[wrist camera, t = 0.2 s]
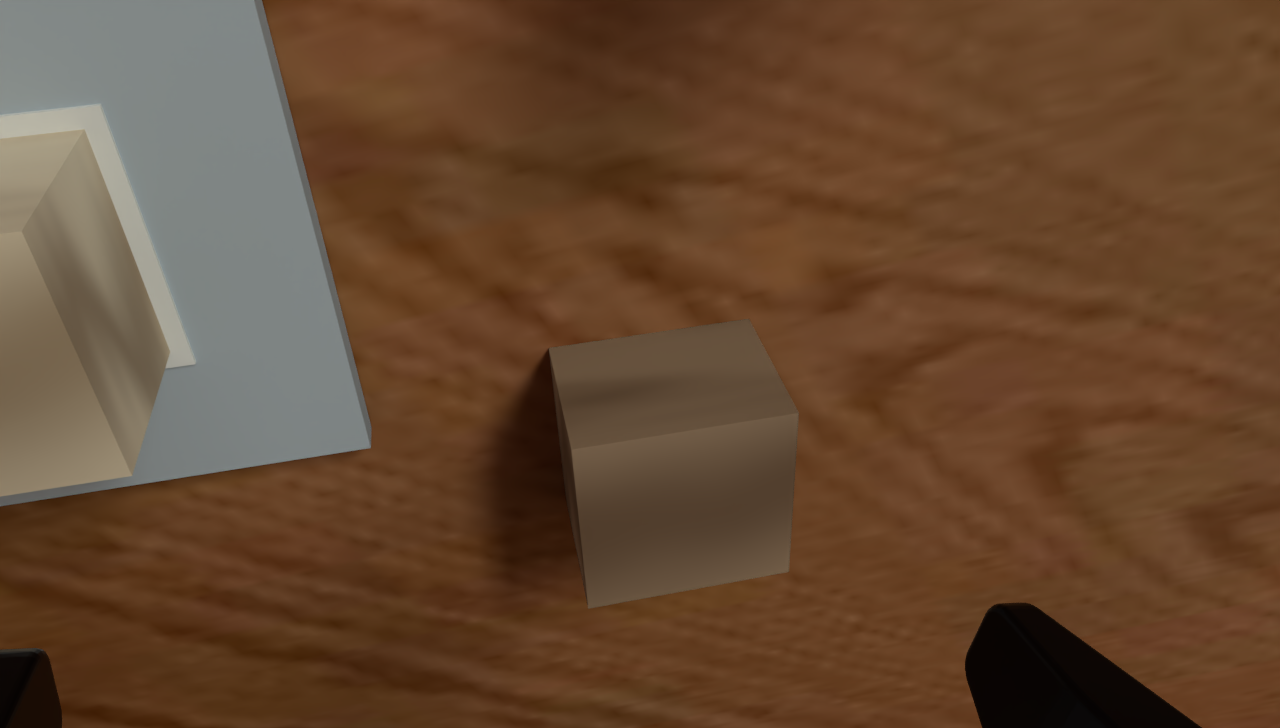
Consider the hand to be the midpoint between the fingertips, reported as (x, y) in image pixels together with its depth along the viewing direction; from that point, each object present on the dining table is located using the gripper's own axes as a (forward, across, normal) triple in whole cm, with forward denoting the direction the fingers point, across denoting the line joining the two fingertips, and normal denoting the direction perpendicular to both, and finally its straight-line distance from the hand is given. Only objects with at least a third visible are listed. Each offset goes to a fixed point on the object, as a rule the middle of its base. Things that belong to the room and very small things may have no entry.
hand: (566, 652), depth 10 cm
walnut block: (+14, -5, +8) cm, 17 cm away
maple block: (+13, +9, +3) cm, 16 cm away
